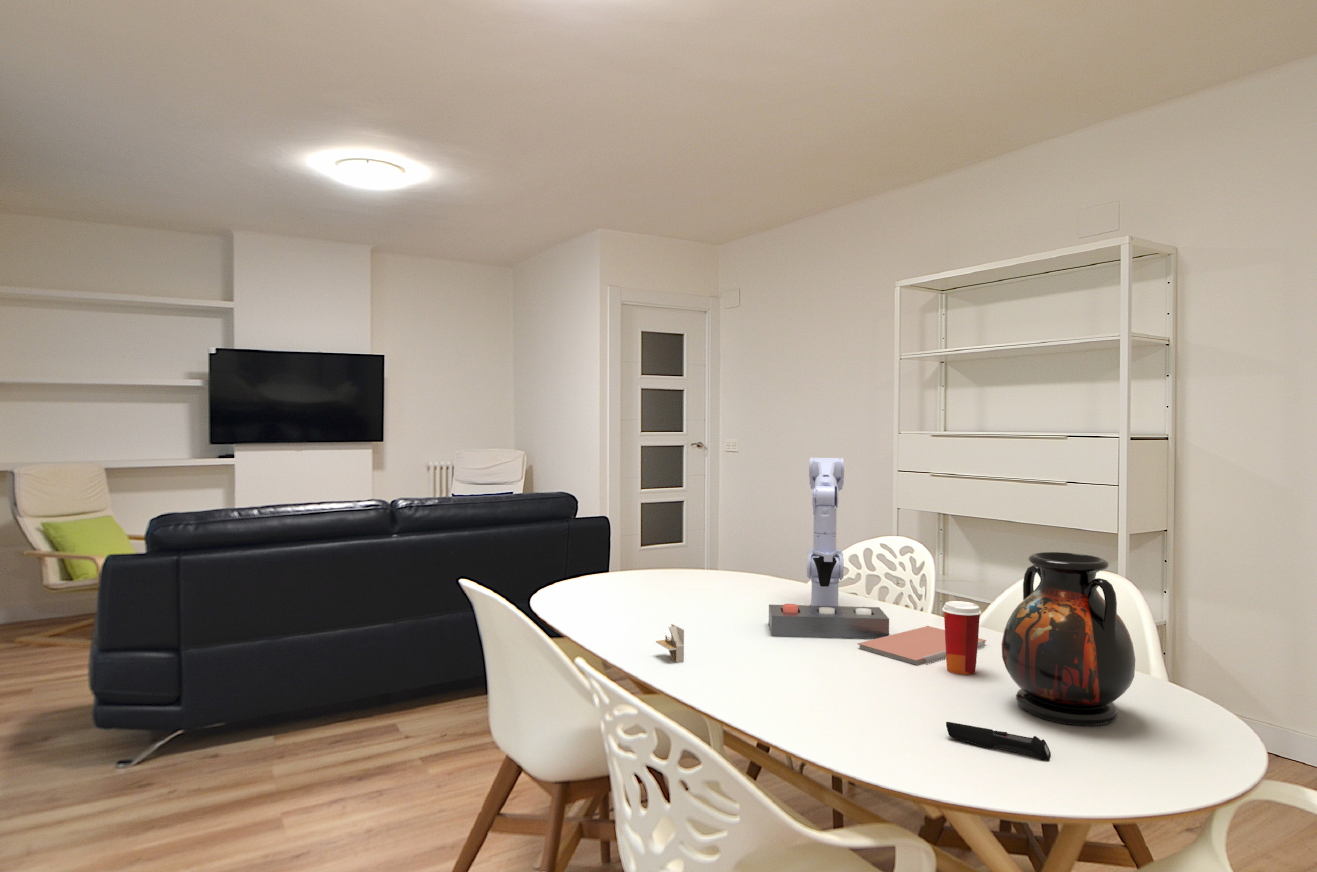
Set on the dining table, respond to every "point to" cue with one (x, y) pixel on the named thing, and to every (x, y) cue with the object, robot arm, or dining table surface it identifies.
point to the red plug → (790, 608)
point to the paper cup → (961, 636)
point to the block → (828, 623)
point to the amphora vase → (1068, 642)
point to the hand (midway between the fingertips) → (824, 586)
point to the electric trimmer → (999, 740)
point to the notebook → (912, 645)
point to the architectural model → (674, 643)
